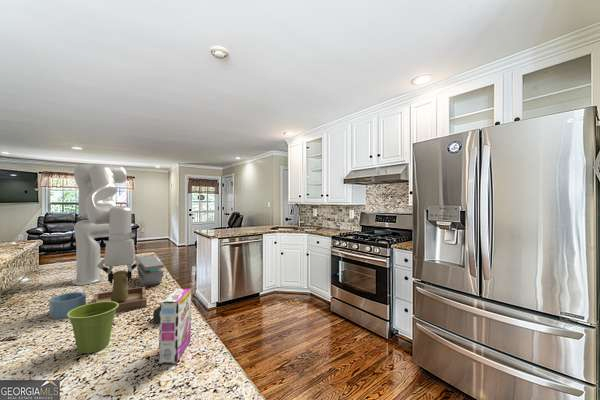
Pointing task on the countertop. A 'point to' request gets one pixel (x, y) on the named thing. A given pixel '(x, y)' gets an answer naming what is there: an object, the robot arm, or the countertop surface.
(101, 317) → the plant pot
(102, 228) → the robot arm
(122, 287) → the olive brown bulbous cylinder
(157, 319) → the smart speaker
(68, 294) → the blue hollow cylinder
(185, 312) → the candy bar box
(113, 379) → the countertop surface
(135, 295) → the tray
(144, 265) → the grey lidded box
